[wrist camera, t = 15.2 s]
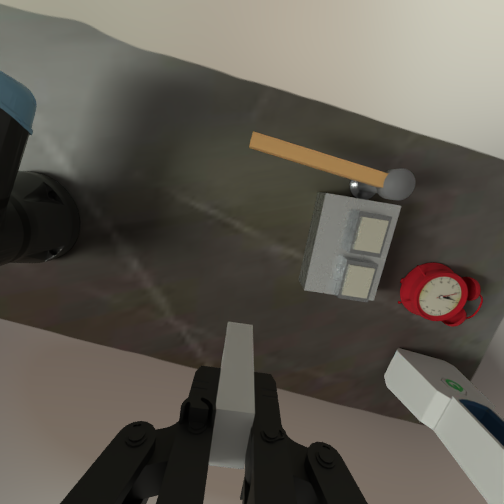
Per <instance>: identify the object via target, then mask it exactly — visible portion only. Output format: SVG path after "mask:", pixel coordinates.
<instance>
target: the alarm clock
mask: <svg viewBox="0 0 504 504" xmlns="http://www.w3.org/2000/svg"><path fill="white" fill-rule="evenodd" d="M400 283H402V285H401V289H400V297H401V301H402V302H400V301H398V303H399V304H400V303H403V305H404V306H405V307H406V308H407V309H408V310H409V311H410V312H412V313H414V314H416V315H420V316H422V317H423V318H425V319H428V320H432V321H442V322H443V323H444V324H446V325H448V326H458V325H460V324H462V323H463V322H464V321H465V319H468V318H471V317H473V316H474V315H475V314H476V313H477V312H478V311H479V309H480V307H481V305H482V302H483V297H482V296H481V295H480V292H481V288H480V285H479V283H478V282H477V281H476V280H475V279H473V278H471V277H463V278H461V277H460V276H459V275H457V274H455V273H454V272H453V271H452V270H451V269H450V268H449V267H447V266H445V265H443V264H440V263H426V264H422V265H420V266H419V265H417V267H416V268H414V269H413V270H412V271H411V272H409V273H408V275H407V276H406V277H405V279H404V278H402V279H401V281H400ZM479 296H480V297H481V303H480V305H479V307H478V309H477V310H476V312H475V313H474V314H473V315H472V316H470V317H466V312H465V310H464V309H463V307H464V305H465V303H466V301H467V300H468V301H472V300H475V299H477V298H478V297H479Z"/></svg>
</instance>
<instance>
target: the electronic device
mask: <svg viewBox="0 0 504 504" xmlns="http://www.w3.org/2000/svg"><path fill="white" fill-rule="evenodd" d="M384 378H385V382H386V385H387V387H388V388H389V389H390V390H391V391H392V392H393V393H394V394H395V395H396V397H397V398H398V399H399V400H400V401H401V402H402V403H403V404H404V405H405V406H406V407H407V408H408V409H409V410H410V411H411V412H412V413H413V414H414V415H415V416H416V417H417V419H418V420H419V421H421V422H422V423H424V424H425V425H427V426H428V427H429V428H431V429H433V430H434V432H435V433H436V434H437V436H438V437H439V438H440V440H441V441H442V442H443V444H444V445H445V446H446V448H447V449H448V450H449V452H450V453H451V454H452V456H453V457H454V458H455V460H456V461H457V462H458V464H459V465H460V466H461V468H462V469H463V470H464V472H465V473H466V475H467V476H468V477H469V479H470V480H471V481H472V482H473V484H474V485H475V487H476V488H477V489H478V491H479V492H480V493H481V494H482V496H483V497H484V498H485V500H486V501H487V503H488V504H504V418H502V417H501V416H500V415H499V414H498V413H497V412H496V411H495V410H494V409H495V405H493V404H492V403H491V402H490V401H489V400H488V399H487V398H486V397H485V396H484V395H483V394H482V393H481V392H480V391H479V390H478V389H477V388H476V387H475V386H474V385H473V384H472V383H471V382H470V381H469V380H468V379H467V378H466V377H465V376H464V375H463V374H462V373H461V372H460V371H459V370H458V369H457V368H456V367H455V366H453V365H451V364H449V363H448V362H446V361H444V360H440V359H437V358H433V357H429V356H426V355H422V354H419V353H415V352H412V351H408V350H404V349H401V348H398V349H397V351H396V353H395V355H394V357H393V359H392V361H391V363H390V365H389V367H388V369H387V371H386V373H385V375H384Z"/></svg>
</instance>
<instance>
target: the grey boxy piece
mask: <svg viewBox="0 0 504 504" xmlns="http://www.w3.org/2000/svg"><path fill="white" fill-rule="evenodd" d="M350 191H351V193H352V194H353V196H355V197H356V198H353V197H347V196H341V195H335V194H329V193H322V192H318V193H317V198H316V203H315V207H314V212H313V216H312V221H311V226H310V230H309V235H308V240H307V244H306V249H305V253H304V258H303V263H302V267H301V272H300V276H299V281H300V283H301V285H302V287H303V289H304V290H307V291H313V292H320V293H326V294H333V295H336V296H337V298H342V299H349V300H356V301H362V302H368V300H373V301H374V298H375V295H376V291H377V288H378V284H379V281H380V278H381V274H382V271H383V267H384V264H385V260H386V257H387V254H388V250H389V247H390V243H391V240H392V237H393V233H394V230H395V226H396V223H397V220H398V216H399V213H400V209H401V206H400V205H394V204H388V203H382V202H376V201H370V200H364V199H369V198H371V197H373V196H374V195H375V194H376V193H367V192H361V191H360V190H359V188H358V181H355V180H352V179H351V180H350Z"/></svg>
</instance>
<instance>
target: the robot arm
mask: <svg viewBox="0 0 504 504" xmlns="http://www.w3.org/2000/svg"><path fill="white" fill-rule="evenodd" d="M35 111H36V100H35V98H34V96H33V94H32V93H31V91H30V90H29V89H28V88H27V87H25V86H24V85H23V84H21V83H20V82H18V81H16V80H15V79H13V78H12V77H10V76H8V75H7V74H5V73H3V72H2V71H0V266H1V265H4V264H7V263H41V262H46V261H49V260H52V259H55V258H57V257H60V256H62V255H63V254H65V253H66V252H68V251H69V250H70V249H71V248H72V246H73V245H74V244H75V242H76V240H77V238H78V234H79V230H80V218H79V213H78V210H77V207H76V205H75V203H74V201H73V199H72V197H71V196H70V195H69V193H68V192H67V191H66V190H65V189H64V188H63V187H62V186H61V185H60V184H59V183H57V182H56V181H55V180H53V179H51V178H49V177H47V176H45V175H43V174H39V173H35V172H26V171H18V170H19V167H20V163H21V160H22V157H23V154H24V150H25V147H26V144H27V141H28V137H29V134H30V135H32V133H33V130H32V124H33V120H34V116H35ZM208 465H211V466H219V467H228V468H238V469H244V465H245V477H244V482H243V487H242V491H241V497H240V500H243V502H242V503H243V504H368V503H367V502H366V500H365V498H364V496H363V494H362V493H361V491H360V489H359V487H358V486H357V484H356V482H355V480H354V479H353V477H352V475H351V473H350V471H349V470H348V468H347V466H346V465H345V462H344V461H343V459H342V457H341V456H340V454H339V453H338V452H337V450H335V449H334V448H333V447H331V446H330V445H328V444H326V443H323V442H315V443H312V444H311V445H310V447H308V448H307V447H305V446H303V445H300V444H298V443H296V442H294V441H293V440H291V439H290V438H289V437H288V436H287V435H286V432H285V430H284V429H283V428H282V425H281V418H280V410H279V403H278V395H277V388H276V382H275V380H274V379H273V377H272V375H271V374H265V373H258V372H254V360H253V325H248V324H241V323H234V322H228V326H227V333H226V339H225V345H224V352H223V358H222V365H221V368H215V367H208V366H201V367H200V368H199V369H198V370H197V371H196V372H195V376H194V379H193V383H192V386H191V390H190V393H189V397H188V398H187V399H186V400H185V401H184V402H183V403H182V405H181V411H180V419H179V421H178V422H177V423H176V424H174V425H172V426H170V427H167V428H163V429H157V430H155V428H154V427H153V425H151V424H150V423H148V422H144V421H138V422H133V423H131V424H129V425H127V426H125V427H124V428H123V429H122V430H121V431H120V432H119V433H118V434H117V435H116V437H115V438H114V439H113V440H112V441H111V443H110V444H109V445H108V446H107V447H106V449H105V450H104V451H103V452H102V453H101V455H100V456H99V457H98V458H97V460H96V461H95V462H94V463H93V464H92V466H91V467H90V468H89V469H88V470H87V472H86V473H85V474H84V475H83V477H82V478H81V479H80V480H79V481H78V483H77V484H76V485H75V486H74V487H73V489H72V490H71V491H70V492H69V493H68V495H67V496H66V497H65V499H64V500H63V501H62V502H61V503H60V504H146V503H147V501H148V498H149V497H153V496H157V495H158V498H157V502H156V504H203V500H204V492H205V485H206V479H207V471H208Z"/></svg>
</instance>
